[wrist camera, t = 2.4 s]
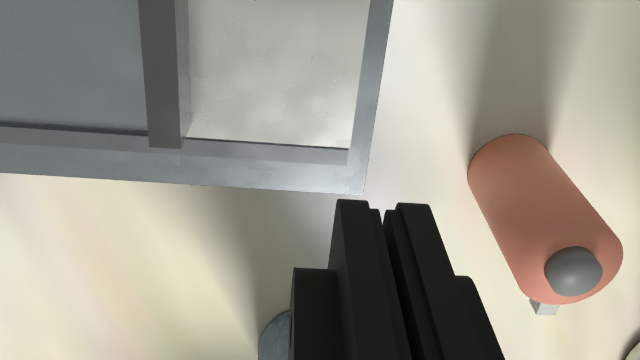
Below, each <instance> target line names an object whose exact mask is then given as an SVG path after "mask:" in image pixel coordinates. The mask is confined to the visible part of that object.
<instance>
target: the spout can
mask: <svg viewBox="0 0 640 360" xmlns="http://www.w3.org/2000/svg"><path fill="white" fill-rule="evenodd" d="M467 179H468V184H469V187H470V189H471V191H472V193H473V195H474V197H475V199H476V201H477V203H478V205H479V207H480V209H481V211H482V213H483V215H484V217H485V219H486V221H487V223H488V225H489V227H490V229H491V231H492V233H493V235H494V237H495V239H496V241H497V243H498V245H499V247H500V249H501V251H502V253H503V255H504V257H505V259H506V261H507V263H508V265H509V267H510V269H511V271H512V273H513V275H514V277H515V279H516V281H517V283H518V285H519V287H520V289H521V290H522V292H523V293H524V294H525V295H526V296H528V297H529V298H530V300H529V301H530V303H531V305H532V307H533V309H534V311H535V313H536V314H538V315H556V312H557V310H558V308H559V305H561V304H569V303H574V302H577V301H580V300H583V299H586V298H588V297H590V296H592V295H594V294H595V293H597V292H599V291H600V290H601V289H603V288H604V287H605V286H606V285H607V284H608V283H609V282H610V281H611V280H612V279H613V278H614V277H615V275H616V274H617V272H618V270H619V269H620V266H621V264H622V259H623V248H622V245H621V242H620V240H619V239H618V237H617V236H616V235H615V234H614V232H613V231H612V230H611V229H610V227H609V226H608V225H607V224H606V223H605V221H604V220H603V219H602V218H601V216H600V215H599V214H598V213H597V211H596V210H595V209H594V208H593V207H592V205H591V204H590V203H589V202H588V200H587V199H586V198H585V197H584V195H583V194H582V193H581V192H580V191H579V189H578V188H577V187H576V186H575V184H574V183H573V182H572V181H571V179H570V178H569V177H568V176H567V175H566V173H565V172H564V171H563V170H562V168H561V167H560V166H559V165H558V163H557V162H556V161H555V160H554V159H553V157H552V156H551V155H550V154H549V152H548V151H547V150H546V149H545V147H544V146H543V145H542V144H541V143H540V142H539V141H537V140H536V139H534V138H532V137H530V136H526V135H520V134H512V135H506V136H502V137H499V138H496V139H494V140H492V141H490V142H489V143H487V144H486V145H484V146H483V147H482V148H481V149H480V150H479V151H478V152H477V153H476V154H475V156H474V157H473V159H472V160H471V162H470V165H469V168H468V173H467Z"/></svg>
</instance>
